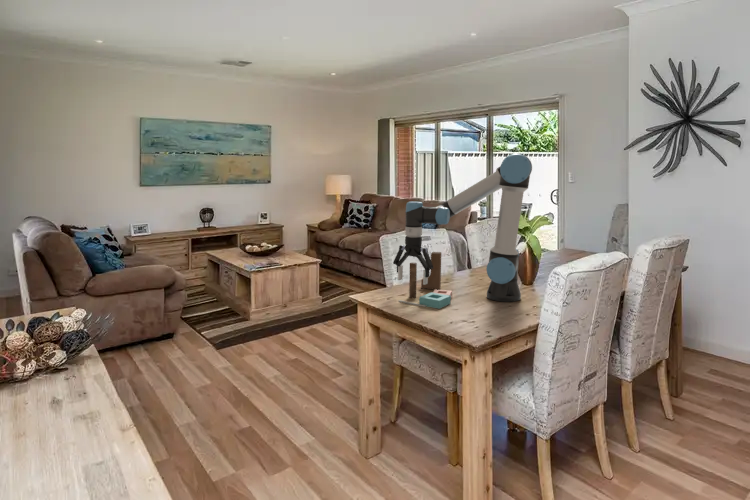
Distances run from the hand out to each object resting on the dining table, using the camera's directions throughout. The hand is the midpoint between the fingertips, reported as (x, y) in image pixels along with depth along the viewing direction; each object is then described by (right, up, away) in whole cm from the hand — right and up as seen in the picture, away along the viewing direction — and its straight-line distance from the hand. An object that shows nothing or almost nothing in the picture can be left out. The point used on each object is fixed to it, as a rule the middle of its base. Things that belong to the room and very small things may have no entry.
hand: (412, 281), depth 226 cm
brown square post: (0, -7, +1) cm, 7 cm away
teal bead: (+9, -9, -10) cm, 16 cm away
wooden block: (+11, -4, +18) cm, 21 cm away
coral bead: (+13, -8, -1) cm, 15 cm away
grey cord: (-1, -9, -10) cm, 14 cm away
